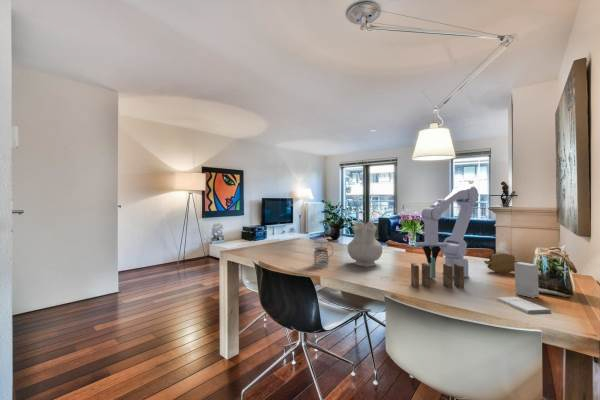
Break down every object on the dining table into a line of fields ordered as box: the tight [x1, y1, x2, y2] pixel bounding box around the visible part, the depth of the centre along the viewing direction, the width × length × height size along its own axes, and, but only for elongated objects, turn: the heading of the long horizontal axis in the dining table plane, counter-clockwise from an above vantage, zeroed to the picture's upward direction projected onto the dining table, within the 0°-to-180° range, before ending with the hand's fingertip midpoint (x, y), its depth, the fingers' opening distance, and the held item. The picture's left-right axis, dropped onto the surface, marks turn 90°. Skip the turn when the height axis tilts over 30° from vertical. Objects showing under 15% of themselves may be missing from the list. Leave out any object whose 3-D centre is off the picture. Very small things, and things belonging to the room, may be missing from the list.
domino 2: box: [421, 262, 431, 289], centre depth 119 cm, size 2×5×9 cm, turn 176°
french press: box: [312, 220, 334, 269], centre depth 156 cm, size 10×12×25 cm
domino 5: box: [453, 264, 465, 289], centre depth 118 cm, size 2×5×9 cm, turn 176°
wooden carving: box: [483, 252, 518, 274], centre depth 140 cm, size 16×5×10 cm, turn 80°
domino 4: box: [442, 263, 454, 289], centre depth 118 cm, size 2×5×9 cm, turn 176°
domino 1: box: [410, 262, 420, 288], centre depth 119 cm, size 2×5×9 cm, turn 176°
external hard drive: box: [496, 296, 552, 314], centre depth 96 cm, size 2×8×12 cm
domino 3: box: [427, 256, 437, 279], centre depth 129 cm, size 2×5×9 cm, turn 175°
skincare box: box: [514, 261, 540, 299], centre depth 106 cm, size 6×4×12 cm
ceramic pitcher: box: [347, 220, 383, 268], centre depth 158 cm, size 22×20×25 cm
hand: (431, 262), depth 129 cm, fingers closed on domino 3, 1 cm apart
